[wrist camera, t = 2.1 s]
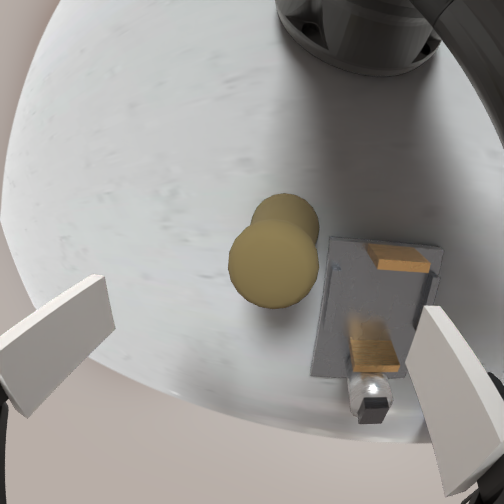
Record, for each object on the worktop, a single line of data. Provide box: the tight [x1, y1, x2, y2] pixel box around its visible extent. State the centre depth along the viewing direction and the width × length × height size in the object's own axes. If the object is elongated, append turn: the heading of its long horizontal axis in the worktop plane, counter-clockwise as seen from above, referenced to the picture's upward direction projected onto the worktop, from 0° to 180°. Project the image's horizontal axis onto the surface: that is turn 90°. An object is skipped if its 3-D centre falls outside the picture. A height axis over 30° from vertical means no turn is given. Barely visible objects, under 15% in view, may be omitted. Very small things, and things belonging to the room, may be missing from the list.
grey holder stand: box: [311, 237, 444, 424], centre depth 22 cm, size 15×11×9 cm
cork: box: [228, 193, 319, 309], centre depth 20 cm, size 6×6×11 cm
